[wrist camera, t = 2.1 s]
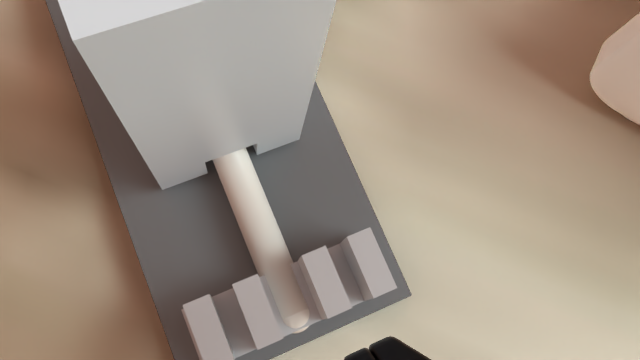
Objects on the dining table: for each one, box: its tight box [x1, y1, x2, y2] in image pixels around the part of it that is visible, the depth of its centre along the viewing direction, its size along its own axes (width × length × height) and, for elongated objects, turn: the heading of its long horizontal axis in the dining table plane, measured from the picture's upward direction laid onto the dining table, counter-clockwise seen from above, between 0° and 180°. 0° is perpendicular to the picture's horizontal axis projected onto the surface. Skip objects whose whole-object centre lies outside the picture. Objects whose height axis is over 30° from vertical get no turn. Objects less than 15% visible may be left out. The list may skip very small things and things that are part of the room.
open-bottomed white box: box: [58, 0, 336, 190], centre depth 15 cm, size 5×5×10 cm
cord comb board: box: [46, 0, 411, 360], centre depth 20 cm, size 25×8×4 cm, turn 23°
